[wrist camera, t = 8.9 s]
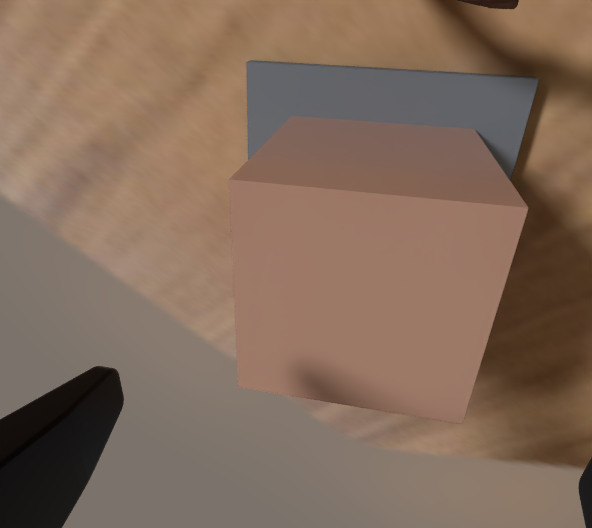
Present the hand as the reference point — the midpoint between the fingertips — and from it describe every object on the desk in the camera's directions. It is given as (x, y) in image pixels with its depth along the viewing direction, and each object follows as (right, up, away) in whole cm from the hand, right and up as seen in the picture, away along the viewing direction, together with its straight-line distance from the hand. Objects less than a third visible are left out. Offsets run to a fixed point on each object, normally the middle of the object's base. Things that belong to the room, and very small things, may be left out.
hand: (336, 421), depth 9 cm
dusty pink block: (+2, +5, +9) cm, 11 cm away
